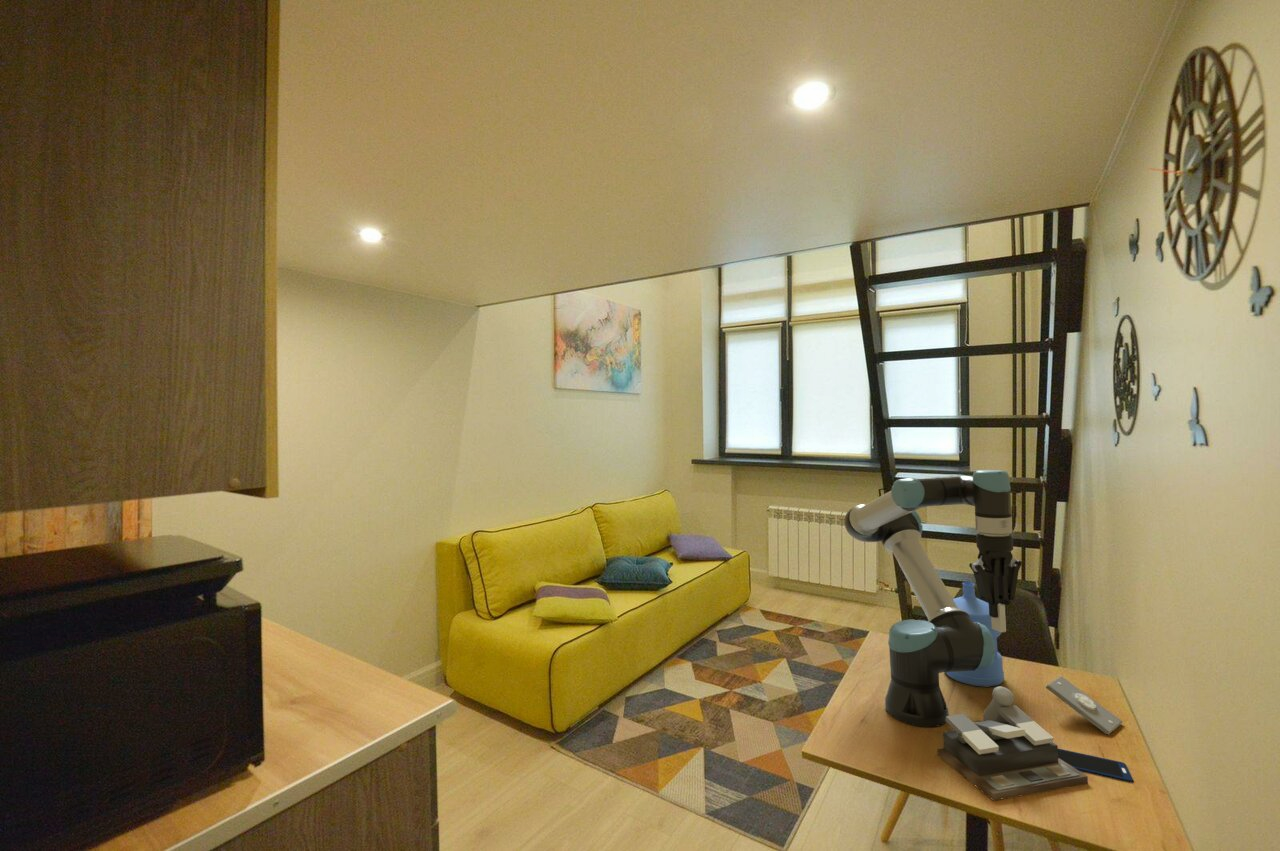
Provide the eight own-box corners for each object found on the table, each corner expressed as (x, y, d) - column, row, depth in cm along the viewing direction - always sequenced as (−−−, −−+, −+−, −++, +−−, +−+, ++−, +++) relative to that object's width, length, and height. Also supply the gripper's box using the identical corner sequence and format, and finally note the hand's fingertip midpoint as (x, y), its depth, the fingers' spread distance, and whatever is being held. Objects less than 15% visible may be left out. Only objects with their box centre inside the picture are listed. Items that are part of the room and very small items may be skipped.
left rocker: (944, 726, 127) (946, 716, 126) (962, 723, 128) (964, 713, 127) (978, 760, 117) (979, 749, 117) (997, 756, 118) (999, 746, 117)
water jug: (932, 672, 168) (928, 582, 168) (963, 660, 175) (958, 574, 176) (984, 693, 154) (979, 594, 154) (1015, 679, 162) (1010, 585, 162)
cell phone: (1134, 784, 114) (1134, 781, 114) (1051, 766, 121) (1051, 762, 122) (1125, 766, 120) (1125, 762, 120) (1048, 749, 128) (1047, 746, 128)
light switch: (1112, 730, 131) (1049, 682, 141) (1099, 746, 133) (1037, 697, 144) (1125, 718, 135) (1062, 673, 146) (1112, 734, 138) (1051, 688, 148)
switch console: (937, 755, 127) (936, 732, 127) (1022, 741, 131) (1021, 719, 131) (993, 800, 111) (992, 774, 111) (1087, 783, 115) (1086, 758, 115)
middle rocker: (975, 735, 127) (972, 722, 128) (993, 732, 128) (989, 720, 129) (1009, 745, 118) (1005, 732, 118) (1028, 742, 118) (1024, 729, 119)
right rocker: (996, 717, 129) (998, 708, 129) (1013, 714, 130) (1015, 705, 130) (1033, 750, 120) (1035, 741, 119) (1051, 747, 121) (1053, 737, 120)
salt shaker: (997, 741, 133) (1006, 707, 127) (976, 721, 137) (984, 688, 131) (1014, 730, 134) (1024, 696, 128) (992, 711, 139) (1001, 678, 133)
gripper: (982, 538, 128) (988, 638, 127) (1030, 534, 130) (1035, 632, 130) (958, 532, 135) (963, 627, 135) (1004, 528, 137) (1009, 622, 137)
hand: (998, 629), depth 132 cm, fingers closed
